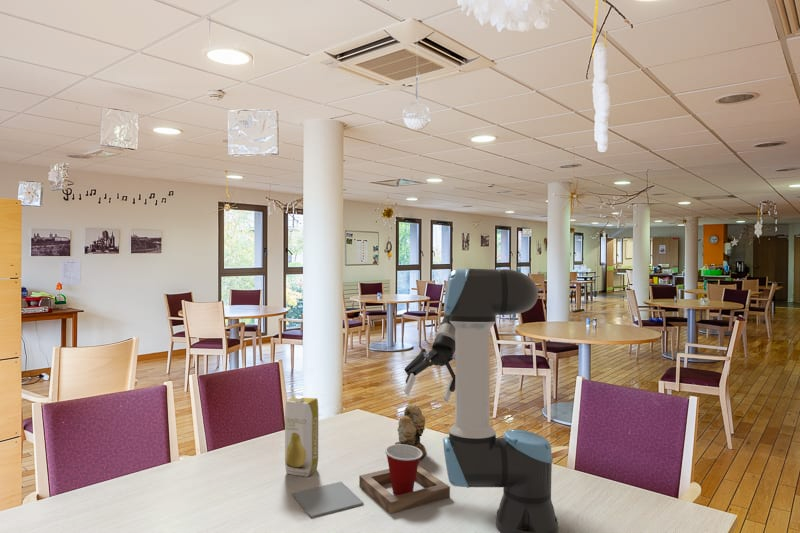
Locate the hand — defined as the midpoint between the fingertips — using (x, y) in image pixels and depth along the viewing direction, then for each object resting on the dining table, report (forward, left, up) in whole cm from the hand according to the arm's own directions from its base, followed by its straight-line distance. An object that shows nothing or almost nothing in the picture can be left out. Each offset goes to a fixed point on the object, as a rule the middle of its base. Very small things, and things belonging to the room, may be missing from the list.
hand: (425, 396), depth 162 cm
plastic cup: (-7, +12, -24) cm, 28 cm away
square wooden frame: (-7, +12, -24) cm, 28 cm away
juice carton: (+20, +33, -24) cm, 45 cm away
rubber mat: (-1, +33, -24) cm, 41 cm away
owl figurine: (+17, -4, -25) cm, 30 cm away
